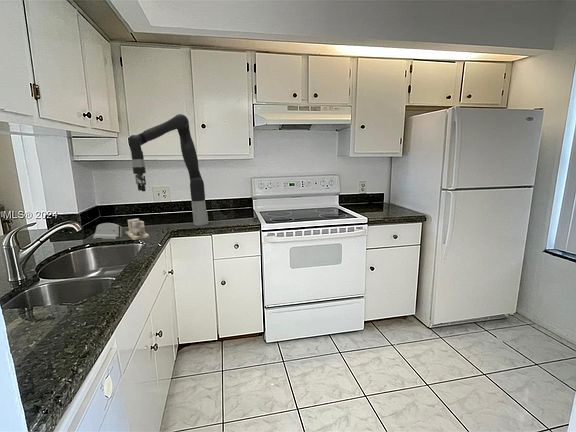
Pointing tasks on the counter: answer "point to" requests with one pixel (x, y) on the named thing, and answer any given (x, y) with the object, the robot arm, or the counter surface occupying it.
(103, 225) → the grey rounded block
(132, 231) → the cream upright block
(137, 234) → the beige hat shape
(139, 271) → the counter surface
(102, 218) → the counter surface
